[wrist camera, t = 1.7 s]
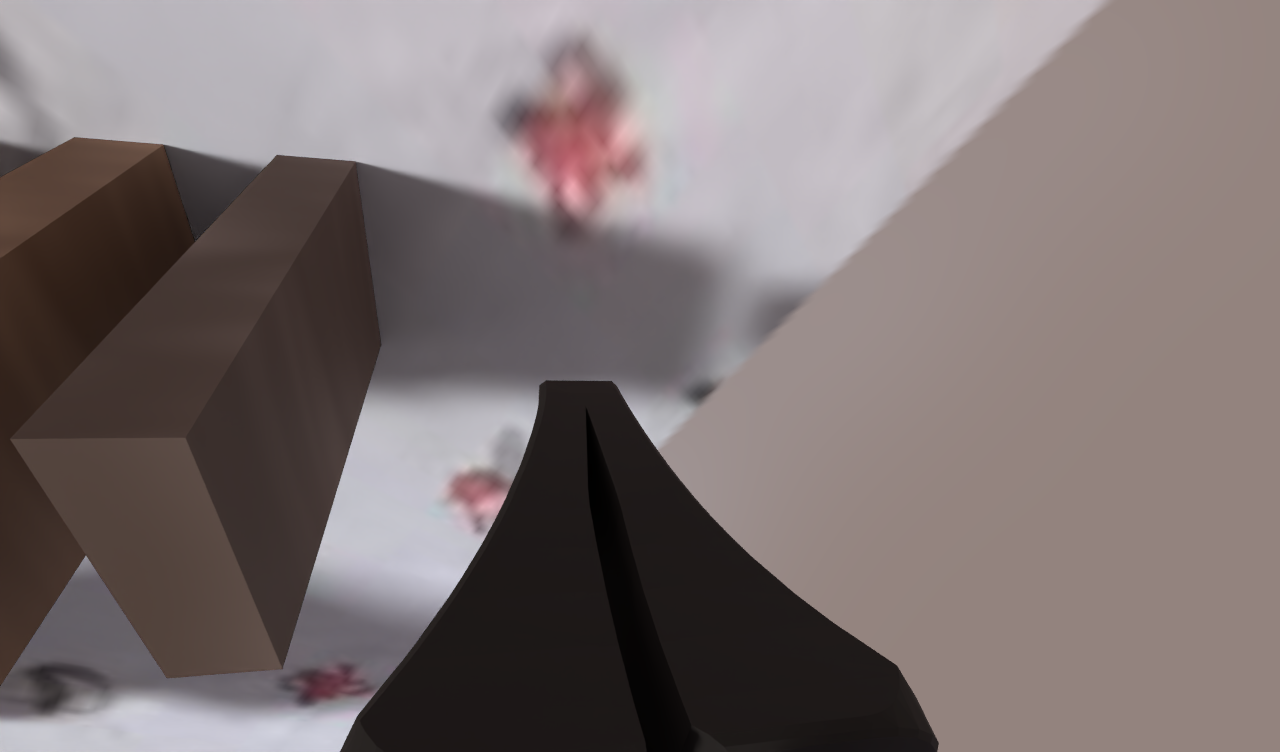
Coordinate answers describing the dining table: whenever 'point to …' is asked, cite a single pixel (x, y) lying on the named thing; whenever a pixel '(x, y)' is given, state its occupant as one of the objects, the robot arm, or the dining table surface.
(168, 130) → the dining table surface
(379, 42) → the dining table surface
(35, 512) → the domino
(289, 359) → the domino
